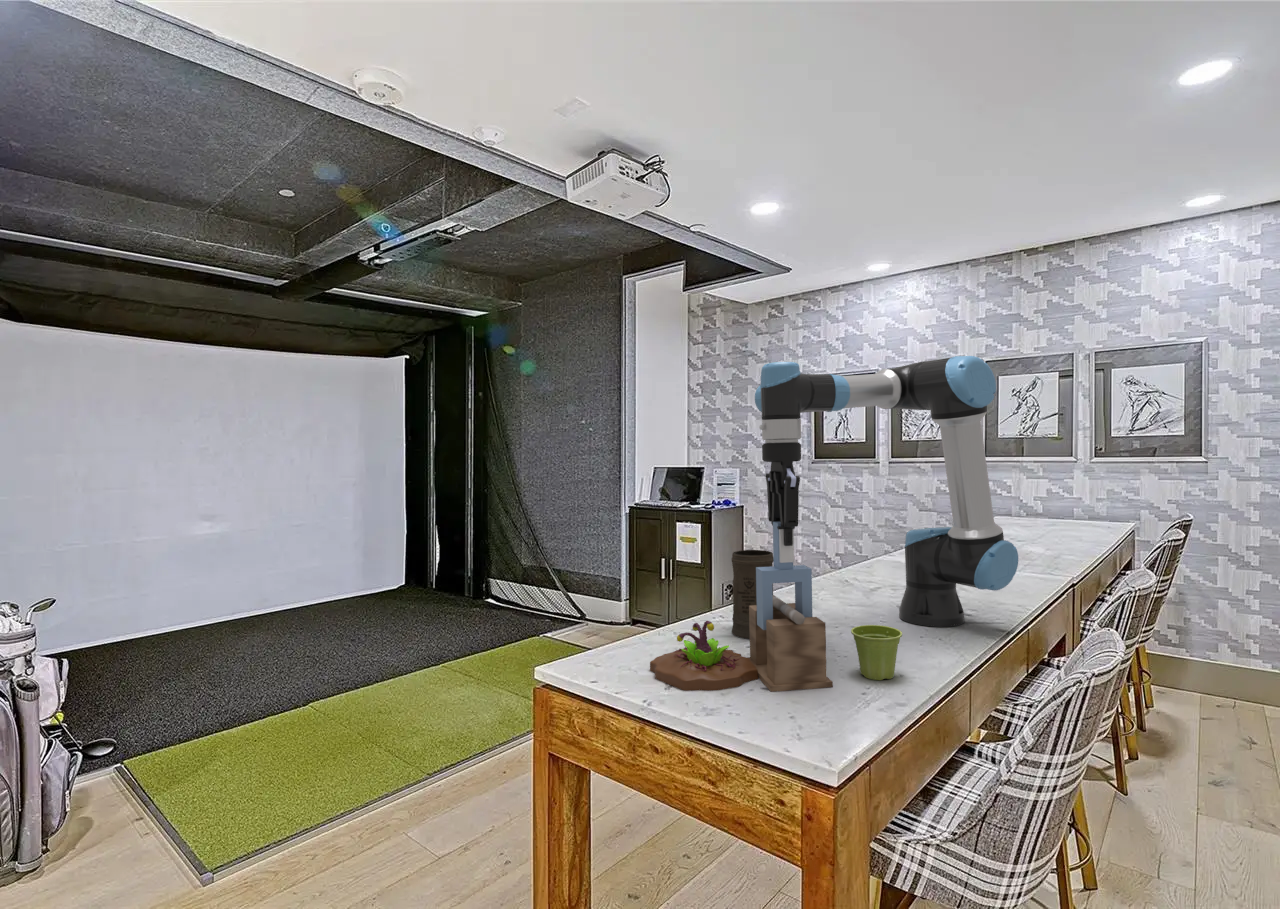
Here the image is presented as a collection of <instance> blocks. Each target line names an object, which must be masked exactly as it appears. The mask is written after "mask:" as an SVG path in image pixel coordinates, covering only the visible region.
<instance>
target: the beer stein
mask: <svg viewBox="0 0 1280 909" xmlns="http://www.w3.org/2000/svg"><path fill="white" fill-rule="evenodd" d="M731 563H732V564H731V565H732V571H733V572H732V573H733V574H732V575H733V579H732V619H731V620H732V627H731V633H732V635H734V636H735V637H737V638H741V639H746V640H750V632H749V606H752V605H757V597H756V567H773V564H774V559H773V551H770V550H764V549H763V550H762V549H744V550H741V549H740V550H737V551H733V552H732V554H731ZM772 593H773V594H774V583H772Z"/></svg>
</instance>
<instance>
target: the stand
mask: <svg viewBox="0 0 1280 909" xmlns="http://www.w3.org/2000/svg"><path fill="white" fill-rule="evenodd" d="M826 631H827V630H826V622H825V621H823V620H822V619H820V618H819V617H817V616H812V617H804V615H802V614H801V613H799V612H798V611H796V610H795V602H792V603H791V602H790V603H788V602H787V603H786V602H785V601H784V600H782V599H780V598H779V597H777V596H776V595H774V594H773V619H772V620H766V630H763V629H761V628H760V627H759V626H758V625H757V605H752V606H749V632H750V639H749V656H747V657H746V658H748V659H749V660H750V661H751V662H752V663H753V664H754V665H755V667H756V668H757V670H758V680H760V681H761V683H762V684H763V685H764V686H765V687H766V688H767V689H768V690H769V692H771V693H772V692H786V691H796V690H797V691H798V690H799V691H801V690H811V689H824V688H825V689H827V688H833V687H834V683H833V682H834V681H833V680H831V678H829V677H828V676H827V644H826V643H827V636H826V635H827V634H826V633H827V632H826Z"/></svg>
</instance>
